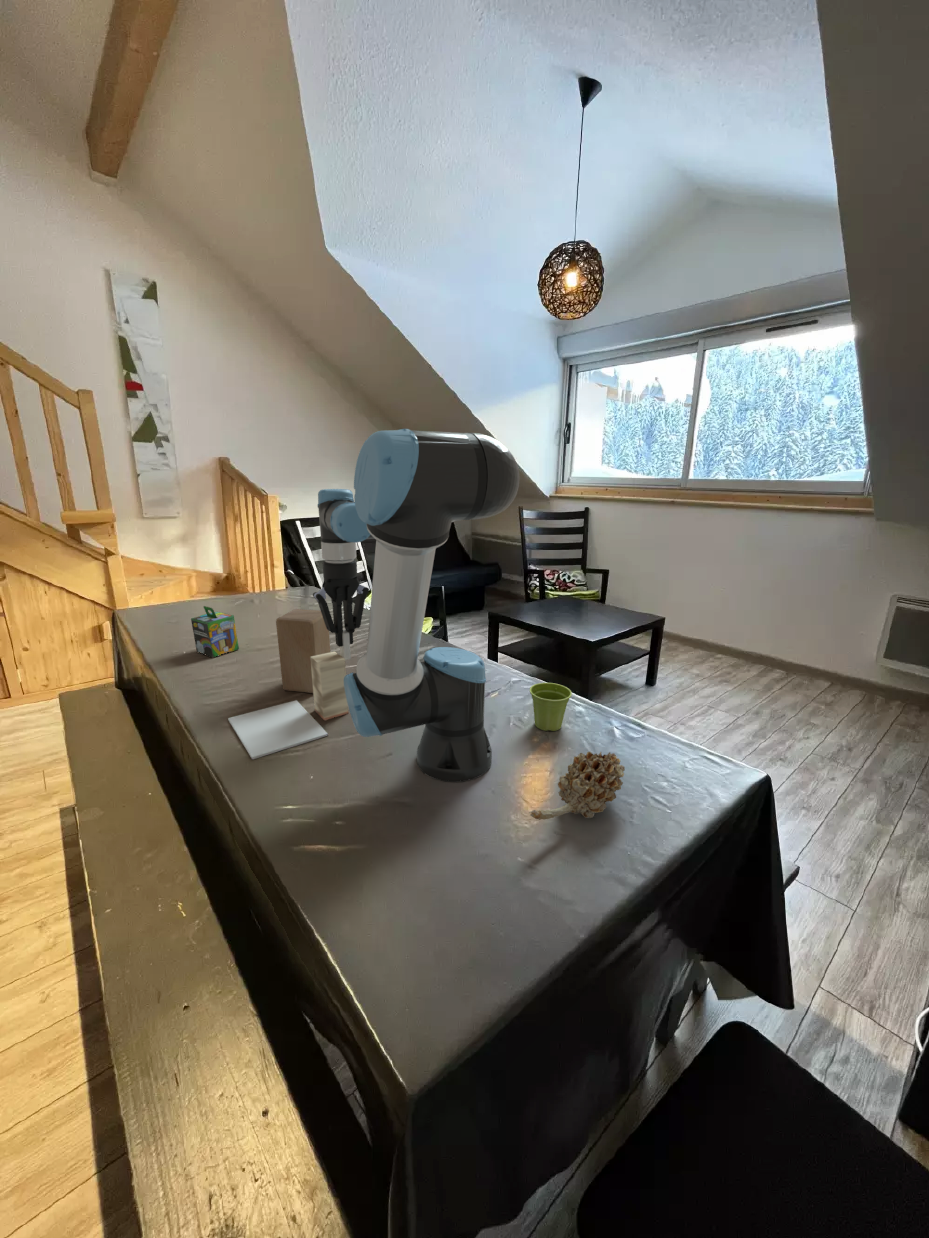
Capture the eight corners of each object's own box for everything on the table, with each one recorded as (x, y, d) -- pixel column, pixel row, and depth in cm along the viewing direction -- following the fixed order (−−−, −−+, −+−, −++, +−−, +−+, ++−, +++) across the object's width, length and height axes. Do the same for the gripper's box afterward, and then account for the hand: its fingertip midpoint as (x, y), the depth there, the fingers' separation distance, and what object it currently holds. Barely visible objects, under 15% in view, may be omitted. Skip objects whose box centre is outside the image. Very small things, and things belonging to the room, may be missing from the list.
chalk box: (239, 650, 161) (234, 605, 156) (212, 658, 153) (205, 612, 149) (222, 644, 165) (216, 600, 161) (195, 652, 158) (188, 607, 154)
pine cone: (586, 777, 98) (590, 731, 95) (632, 800, 91) (638, 752, 88) (512, 833, 83) (515, 781, 80) (561, 865, 76) (566, 809, 73)
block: (316, 695, 130) (310, 621, 125) (281, 691, 132) (273, 618, 126) (333, 679, 140) (329, 610, 134) (300, 676, 142) (294, 607, 136)
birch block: (348, 713, 121) (345, 659, 117) (324, 720, 118) (320, 664, 114) (338, 704, 126) (334, 651, 122) (314, 710, 122) (310, 656, 118)
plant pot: (544, 711, 123) (546, 678, 121) (576, 725, 117) (579, 691, 114) (519, 724, 117) (521, 690, 114) (552, 740, 111) (555, 704, 108)
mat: (328, 735, 111) (327, 733, 111) (252, 759, 102) (252, 757, 102) (296, 701, 127) (296, 700, 126) (228, 720, 117) (228, 718, 117)
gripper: (359, 554, 120) (363, 647, 127) (305, 560, 113) (313, 658, 120) (373, 559, 114) (377, 656, 121) (317, 565, 107) (325, 668, 114)
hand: (345, 657), depth 121 cm, fingers closed
